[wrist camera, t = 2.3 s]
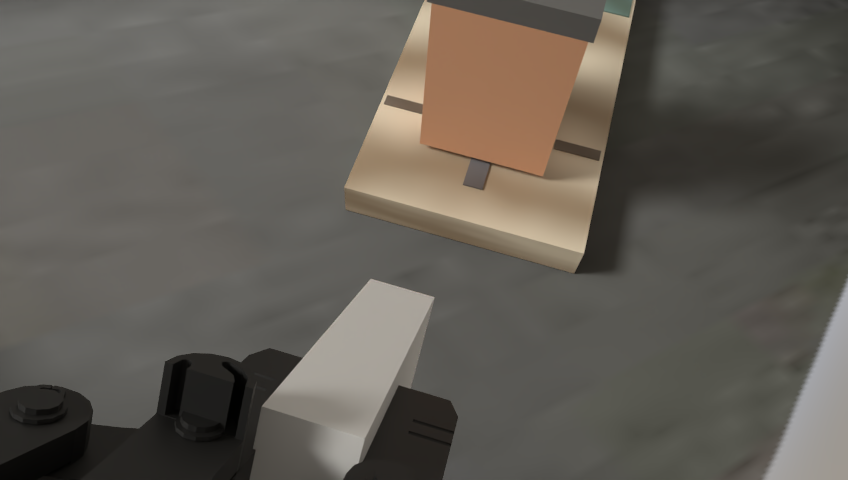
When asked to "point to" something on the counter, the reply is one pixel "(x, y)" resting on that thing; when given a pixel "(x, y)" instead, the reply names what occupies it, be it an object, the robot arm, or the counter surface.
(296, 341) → the counter surface
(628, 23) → the fader board
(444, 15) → the fader knob
